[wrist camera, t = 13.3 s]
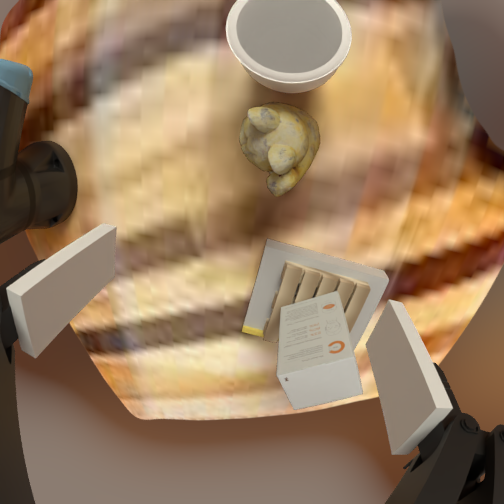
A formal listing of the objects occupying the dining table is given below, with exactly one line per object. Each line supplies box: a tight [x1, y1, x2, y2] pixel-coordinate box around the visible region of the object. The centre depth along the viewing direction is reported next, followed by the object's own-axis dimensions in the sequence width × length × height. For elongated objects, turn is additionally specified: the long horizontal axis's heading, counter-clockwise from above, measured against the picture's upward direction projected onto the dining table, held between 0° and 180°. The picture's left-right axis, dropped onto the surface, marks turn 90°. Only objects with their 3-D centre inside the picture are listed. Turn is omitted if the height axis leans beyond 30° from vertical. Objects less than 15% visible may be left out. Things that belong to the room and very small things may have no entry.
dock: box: [242, 239, 389, 350], centre depth 44 cm, size 18×14×4 cm
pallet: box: [263, 260, 371, 343], centre depth 42 cm, size 12×12×2 cm
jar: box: [226, 0, 352, 93], centre depth 27 cm, size 11×10×15 cm
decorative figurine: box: [239, 102, 320, 197], centre depth 31 cm, size 10×8×15 cm
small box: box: [276, 291, 363, 410], centre depth 35 cm, size 8×6×13 cm
